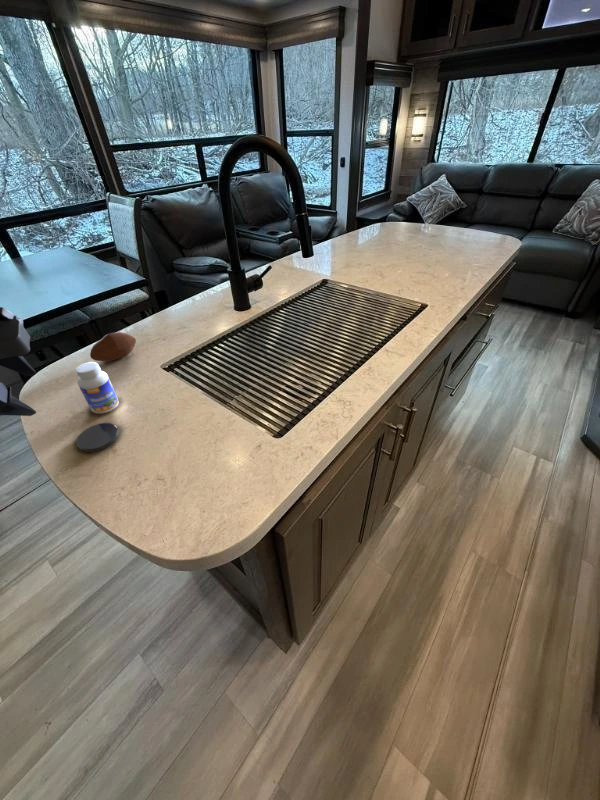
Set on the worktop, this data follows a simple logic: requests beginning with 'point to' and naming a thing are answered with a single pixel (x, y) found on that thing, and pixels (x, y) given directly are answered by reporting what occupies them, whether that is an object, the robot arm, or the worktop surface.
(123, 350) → the potato
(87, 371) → the pill bottle
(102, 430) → the coaster
